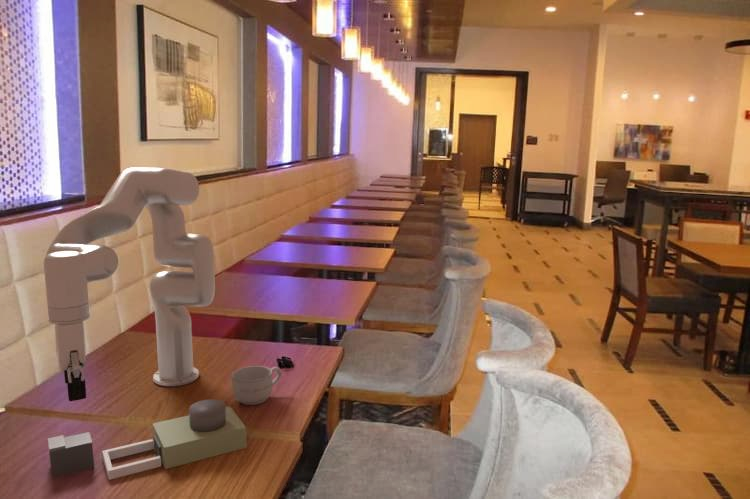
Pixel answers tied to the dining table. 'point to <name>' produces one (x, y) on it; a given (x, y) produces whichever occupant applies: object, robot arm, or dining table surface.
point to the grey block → (70, 454)
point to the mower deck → (184, 439)
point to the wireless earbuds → (284, 362)
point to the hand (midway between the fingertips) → (75, 390)
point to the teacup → (254, 383)
